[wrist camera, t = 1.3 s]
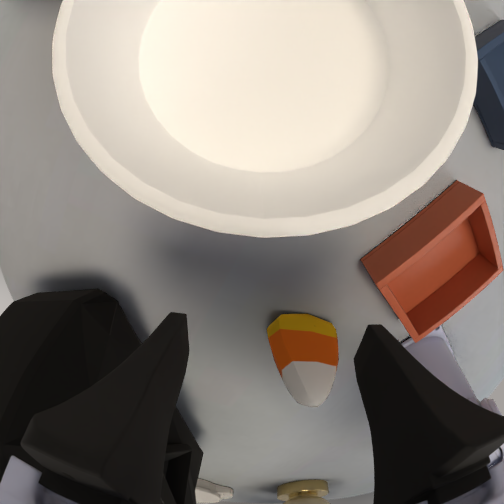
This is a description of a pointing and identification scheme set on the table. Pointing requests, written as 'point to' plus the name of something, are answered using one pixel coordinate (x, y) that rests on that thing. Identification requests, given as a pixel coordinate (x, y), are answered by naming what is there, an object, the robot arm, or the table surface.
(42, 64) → the table surface
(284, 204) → the bowl
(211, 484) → the lid
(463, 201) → the terracotta bin
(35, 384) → the black hard case
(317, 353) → the candy corn
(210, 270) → the table surface
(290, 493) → the lamp
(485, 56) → the slate bin
